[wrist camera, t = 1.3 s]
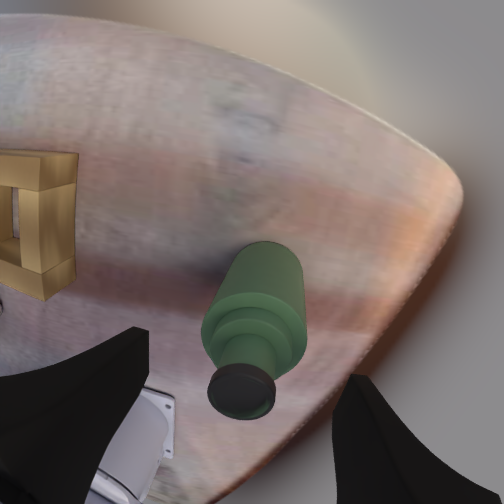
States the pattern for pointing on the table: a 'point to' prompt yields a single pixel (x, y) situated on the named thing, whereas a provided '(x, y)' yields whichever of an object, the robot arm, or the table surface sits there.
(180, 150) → the table surface
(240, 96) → the table surface
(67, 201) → the hole block
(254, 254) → the bottle
